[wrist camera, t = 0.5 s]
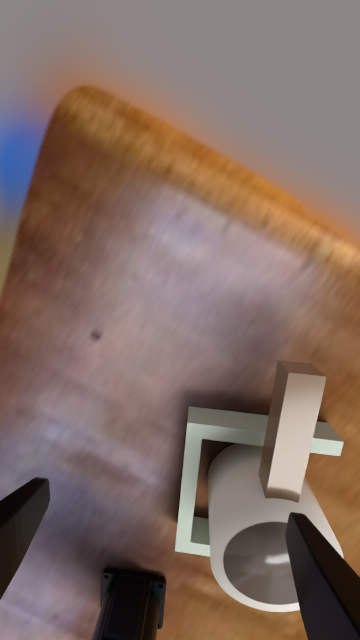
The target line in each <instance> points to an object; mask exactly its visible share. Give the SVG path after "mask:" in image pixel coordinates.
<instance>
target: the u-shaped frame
mask: <svg viewBox="0 0 360 640" xmlns="http://www.w3.org/2000/svg"><path fill="white" fill-rule="evenodd" d="M268 417H269V416H268V415H259V414H251V413H242V412H234V411H225V410H217V409H208V408H200V407H192V406H189V410H188V420H187V430H186V441H185V451H184V461H183V472H182V482H181V492H180V503H179V513H178V524H177V535H176V546H175V551H178V552H184V553H190V554H197V555H203V556H209V557H210V537H209V519H208V518H201V517H194V516H193V514H194V505H195V496H196V487H197V478H198V469H199V461H200V452H201V443H202V439H208V440H216V441H224V442H232V443H240V444H248V445H256V446H263V445H264V439H265V434H266V428H267V422H268ZM343 443H344V441H343V440H342V439H341V438H340V437H339V435H338V434H337V433H336V432H335V431H334V429H333V428H332V427H331V426H330V425H329V423H327V422H318V421H317V422H316V426H315V431H314V435H313V440H312V444H311V449H310V452H311V453H319V454H327V455H335V456H340V454H341V450H342V447H343Z"/></svg>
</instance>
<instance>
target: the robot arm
mask: <svg viewBox="0 0 360 640" xmlns="http://www.w3.org/2000/svg"><path fill="white" fill-rule="evenodd" d="M49 502H50V489H49V480H48V479H47V478H40V477H36V478H34V479H32V480H30V481H29V482H27V483H26V484H24V485H23V486H21V487H20V488H18V489H17V490H16V491H14V492H13V493H11V494H10V495H8V496H7V497H5V498H4V499H2V500H1V501H0V599H1V597H2V596H3V594H4V592H5V591H6V589H7V587H8V585H9V584H10V582H11V580H12V578H13V577H14V575H15V573H16V571H17V569H18V568H19V566H20V564H21V562H22V560H23V558H24V556H25V554H26V552H27V549H28V547H29V545H30V543H31V541H32V539H33V537H34V535H35V533H36V531H37V529H38V527H39V524H40V522H41V520H42V518H43V516H44V514H45V512H46V510H47V508H48V505H49ZM285 540H286V545H287V550H288V555H289V560H290V565H291V569H292V574H293V579H294V584H295V588H296V593H297V598H298V603H299V607H300V612H301V616H302V619H303V623H304V627H305V630H306V634H307V637H308V640H360V577H359V576H358V575H357V574H356V573H355V571H354V570H353V569H352V568H351V567H350V566H349V565H348V563H347V562H346V561H345V560H344V559H343V558H342V556H341V555H340V554H339V553H338V552H337V551H336V550H335V548H334V547H333V546H332V545H331V544H330V543H329V541H328V540H327V539H326V538H325V537H324V536H323V535H322V533H321V532H320V531H319V530H318V529H317V528H316V526H315V525H314V524H313V523H312V522H311V521H310V520H309V518H308V517H307V516H306V515H304V514H303V513H296V512H291V513H290V514H289V517H288V522H287V527H286V532H285ZM165 591H166V579H165V578H163V577H158V576H152V575H145V574H139V573H133V572H127V571H121V570H115V569H109V568H105V569H104V570H103V572H102V576H101V610H100V613H99V617H98V620H97V624H96V627H95V630H94V634H93V637H92V640H156V636H157V629H161V628H162V624H163V613H164V602H165Z"/></svg>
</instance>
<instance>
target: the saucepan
mask: <svg viewBox="0 0 360 640" xmlns="http://www.w3.org/2000/svg"><path fill="white" fill-rule="evenodd" d="M326 377H327V376H325V375H324V374H323V373H322V372H321V371H319V370H318V369H317V368H316V367H315V366H313V365H312V364H308V363H298V362H288V361H279V360H278V365H277V371H276V377H275V382H274V388H273V394H272V399H271V405H270V411H269V417H268V422H267V428H266V434H265V439H264V445H263V446H256V445H248V444H240V443H235V444H232V445H230V446H228V447H227V448H225V449H223V450H222V451H221V452H220V453H219V454H218V455H217V456H216V457H215V458H214V460H213V461H212V463H211V465H210V467H209V471H208V479H207V481H208V509H209V537H210V562H211V568H212V572H213V574H214V577H215V579H216V580H217V582H218V583H219V585H220V586H221V587H222V588H223V590H224V591H225V592H227V593H228V594H229V595H230V596H231V597H233V598H234V599H236V600H237V601H239V602H241V603H243V604H245V605H247V606H250V607H253V608H256V609H260V610H264V611H272V612H289V611H296V610H300V607H299V603H298V598H297V593H296V588H295V584H294V579H293V574H292V569H291V565H290V560H289V555H288V550H287V545H286V540H285V532H286V527H287V522H288V517H289V514H290V513H291V512H296V513H303V514H304V515H306V516H307V517H308V518H309V520H310V521H311V522H312V523H313V524H314V525H315V526H316V528H317V529H318V530H319V531H320V532H321V533H322V535H323V536H324V537H325V538H326V539H327V540H328V541H329V543H330V544H331V545H332V546H333V547H334V548H335V550H336V551H337V552H338V553H339V554H340V555H341V556H342V558H343V559H344V557H343V553H342V550H341V547H340V545H339V543H338V541H337V539H336V537H335V535H334V533H333V531H332V529H331V527H330V525H329V523H328V521H327V519H326V517H325V515H324V514H323V512H322V510H321V508H320V506H319V504H318V502H317V500H316V498H315V496H314V494H313V492H312V490H311V488H310V486H309V484H308V482H307V480H306V478H305V471H306V467H307V462H308V458H309V453H310V449H311V444H312V440H313V435H314V431H315V426H316V422H317V417H318V413H319V408H320V404H321V399H322V395H323V390H324V386H325V382H326Z"/></svg>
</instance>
